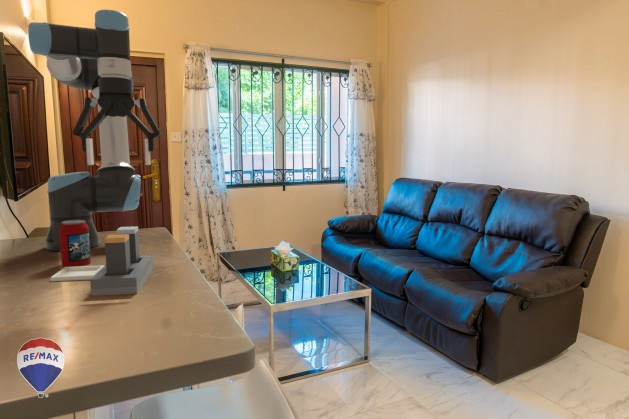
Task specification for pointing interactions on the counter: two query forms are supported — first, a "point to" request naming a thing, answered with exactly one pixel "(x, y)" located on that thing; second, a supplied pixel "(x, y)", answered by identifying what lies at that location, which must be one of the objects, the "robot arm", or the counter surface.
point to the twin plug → (132, 242)
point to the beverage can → (74, 243)
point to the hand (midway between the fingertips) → (119, 165)
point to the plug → (117, 255)
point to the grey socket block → (122, 279)
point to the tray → (76, 273)
